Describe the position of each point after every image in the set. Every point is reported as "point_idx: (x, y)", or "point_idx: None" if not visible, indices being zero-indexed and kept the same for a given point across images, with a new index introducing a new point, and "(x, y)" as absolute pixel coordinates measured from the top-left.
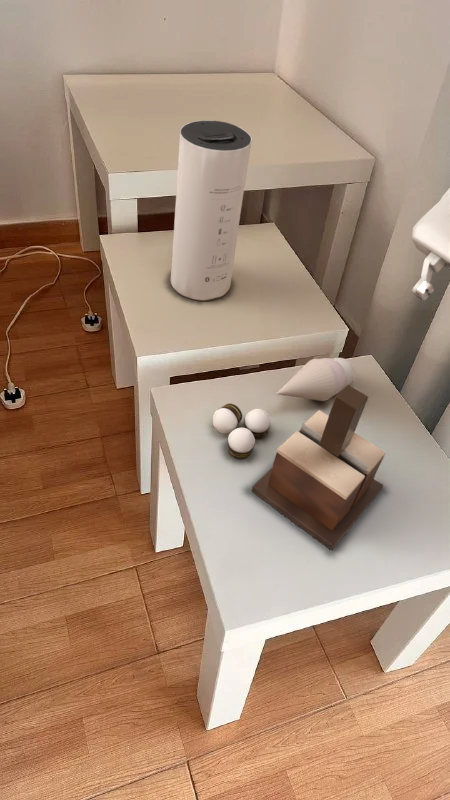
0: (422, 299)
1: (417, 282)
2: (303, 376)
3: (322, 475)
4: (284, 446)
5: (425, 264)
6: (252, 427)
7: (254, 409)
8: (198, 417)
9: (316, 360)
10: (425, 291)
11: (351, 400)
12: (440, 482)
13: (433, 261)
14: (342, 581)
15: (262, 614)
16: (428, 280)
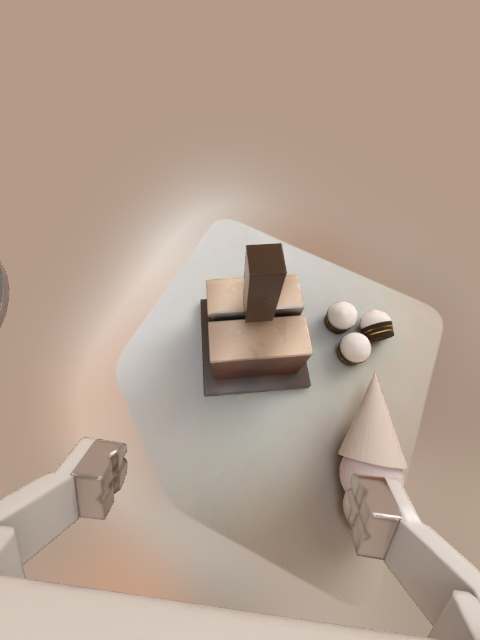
0: (349, 491)
1: (410, 501)
2: (381, 419)
3: (241, 281)
4: (294, 281)
5: (477, 576)
6: (350, 333)
7: (369, 344)
8: (396, 321)
9: (399, 463)
10: (362, 493)
11: (261, 253)
12: (157, 466)
13: (477, 610)
14: (177, 288)
15: (207, 232)
16: (401, 554)
